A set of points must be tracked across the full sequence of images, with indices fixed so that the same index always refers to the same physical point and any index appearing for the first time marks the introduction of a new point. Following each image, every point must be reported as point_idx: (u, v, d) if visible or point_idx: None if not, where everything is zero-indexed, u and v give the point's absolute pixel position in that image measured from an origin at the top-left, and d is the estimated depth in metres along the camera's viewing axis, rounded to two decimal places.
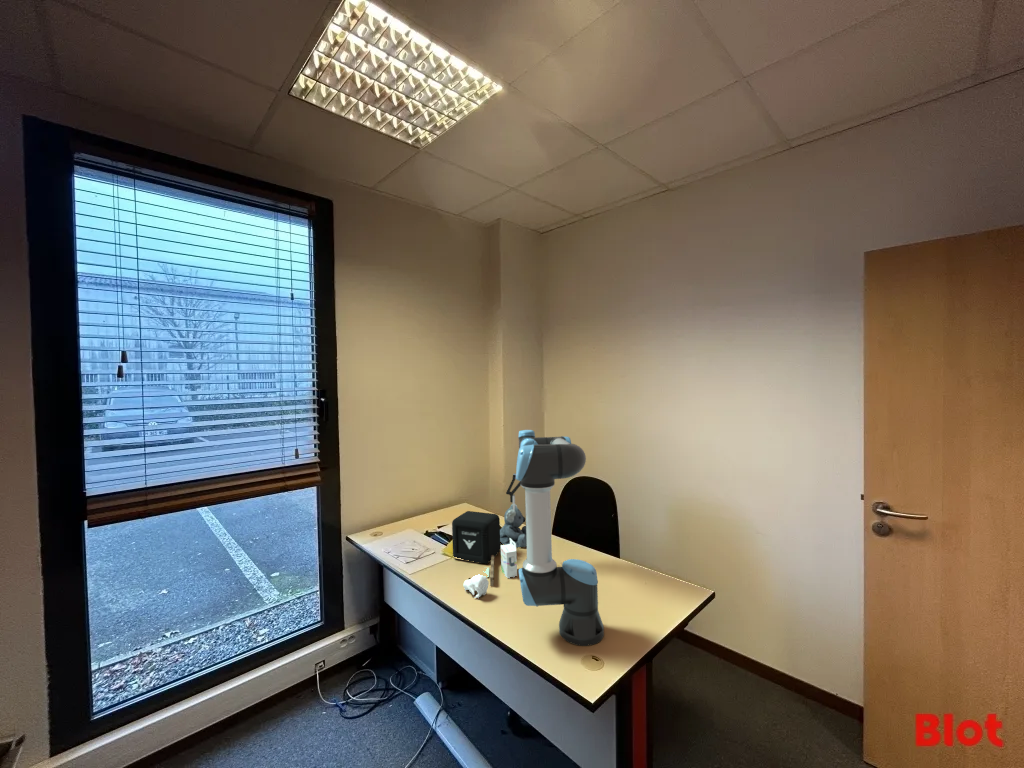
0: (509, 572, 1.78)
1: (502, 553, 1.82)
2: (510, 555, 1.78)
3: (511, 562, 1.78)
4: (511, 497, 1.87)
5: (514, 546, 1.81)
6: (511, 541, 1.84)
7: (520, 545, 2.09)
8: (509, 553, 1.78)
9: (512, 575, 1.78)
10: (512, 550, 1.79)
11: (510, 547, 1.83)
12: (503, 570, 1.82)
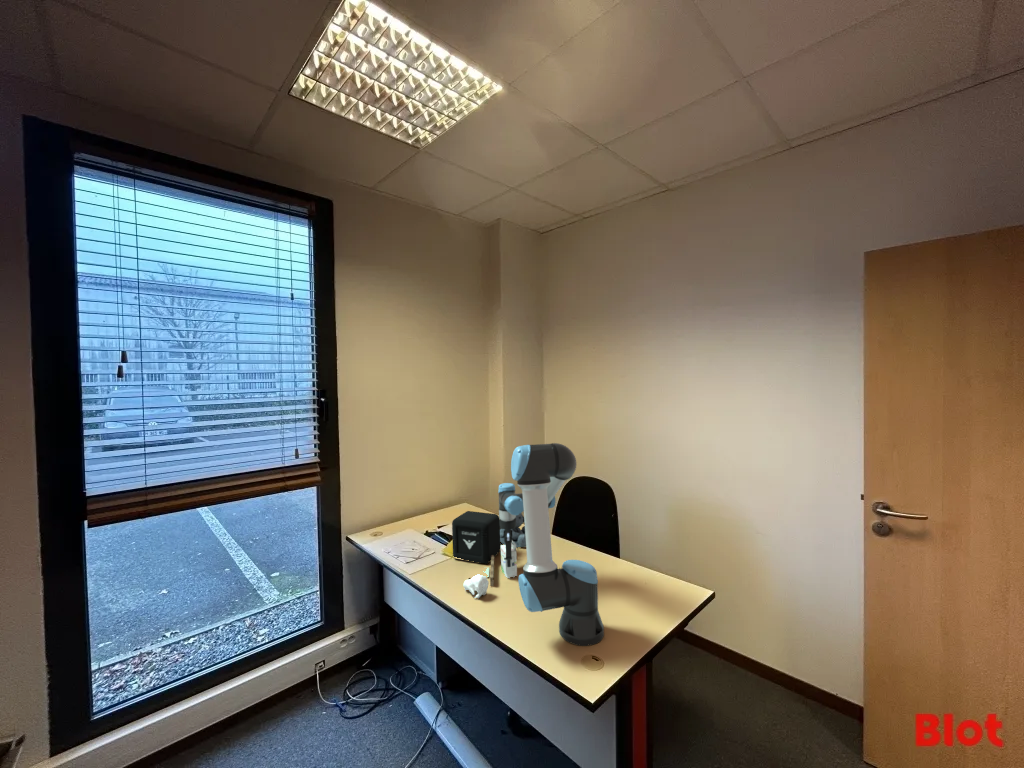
0: None
1: (502, 553, 1.82)
2: None
3: None
4: None
5: (514, 546, 1.81)
6: None
7: (520, 545, 2.09)
8: None
9: (512, 575, 1.78)
10: (512, 550, 1.79)
11: None
12: (503, 570, 1.82)
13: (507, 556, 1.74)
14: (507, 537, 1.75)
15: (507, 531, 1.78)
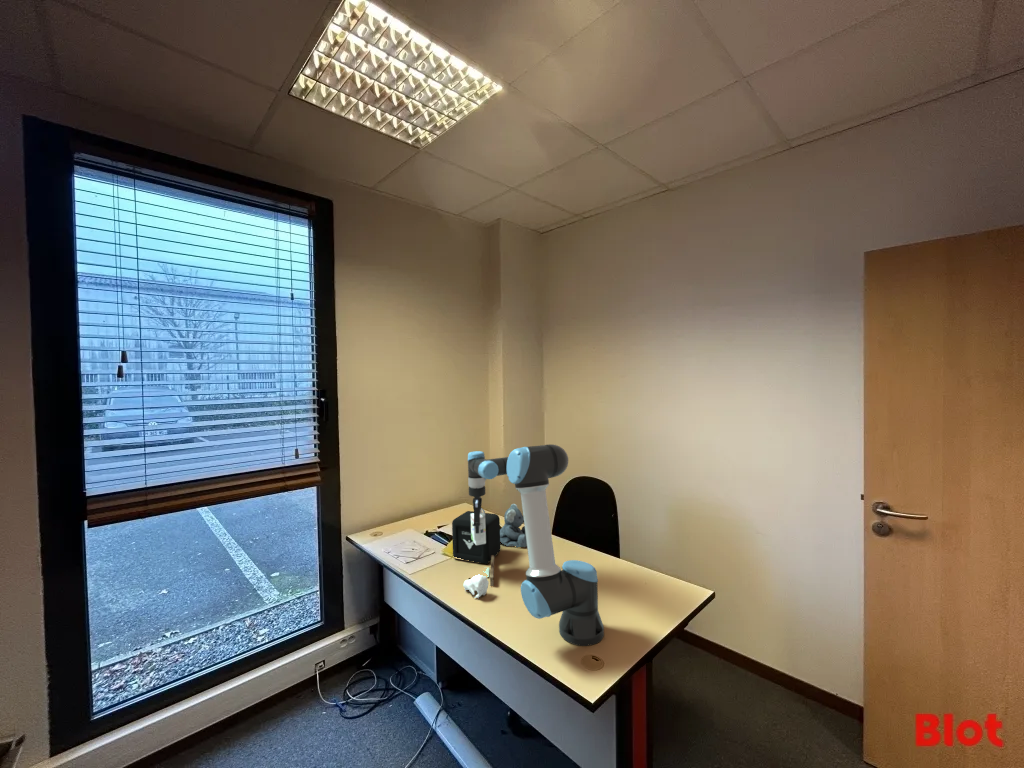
0: None
1: (471, 521, 1.83)
2: None
3: (480, 528, 1.79)
4: None
5: (483, 513, 1.81)
6: (481, 509, 1.85)
7: (520, 545, 2.09)
8: None
9: (481, 542, 1.79)
10: (481, 517, 1.80)
11: None
12: (472, 537, 1.83)
13: (475, 522, 1.75)
14: (475, 503, 1.76)
15: (476, 498, 1.79)
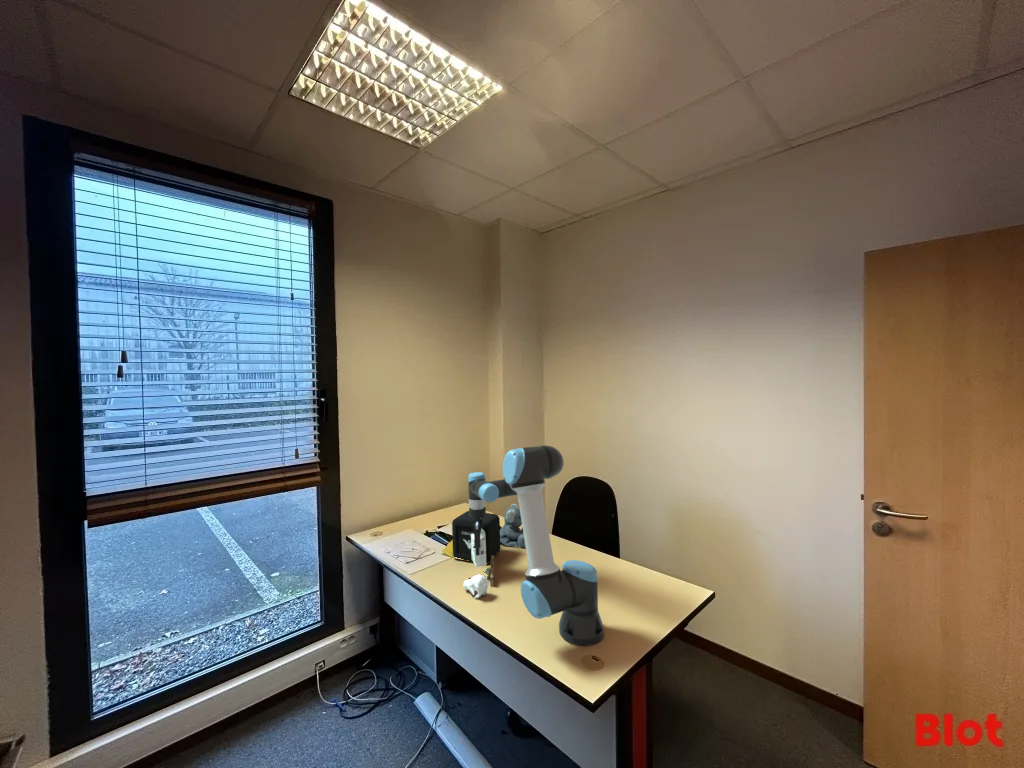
0: None
1: (472, 542, 1.83)
2: None
3: None
4: None
5: (484, 535, 1.82)
6: (481, 530, 1.85)
7: (520, 545, 2.09)
8: None
9: (481, 563, 1.79)
10: (481, 539, 1.80)
11: (480, 536, 1.83)
12: (473, 559, 1.83)
13: (475, 544, 1.75)
14: (476, 525, 1.76)
15: (476, 520, 1.79)
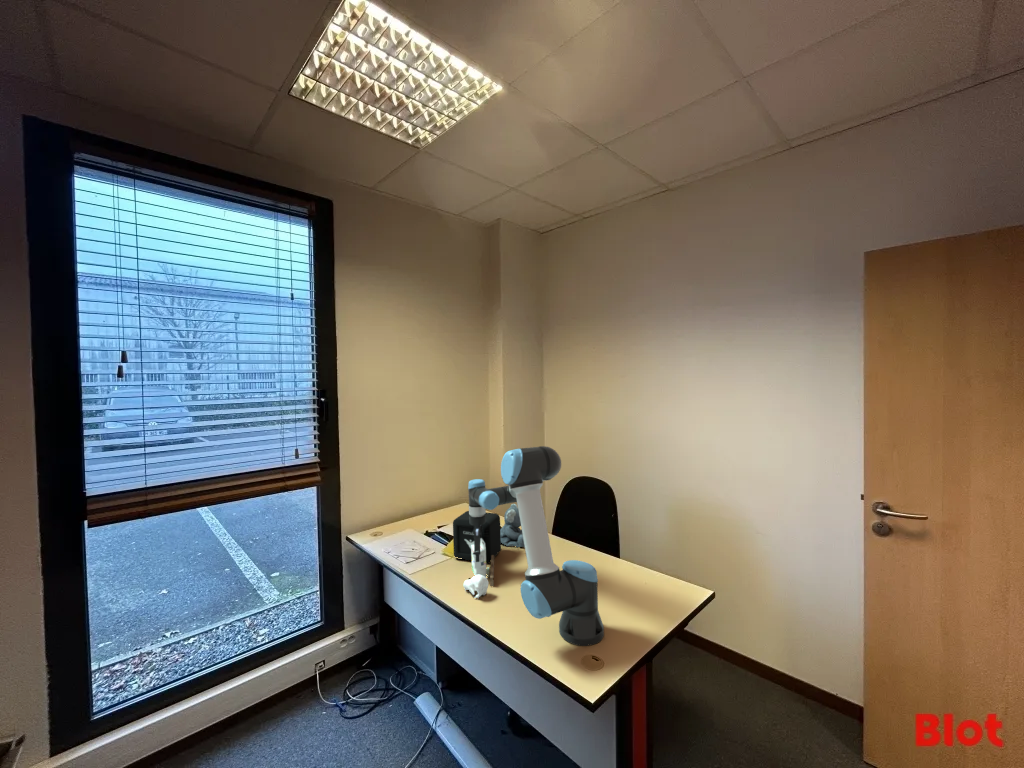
0: (478, 571, 1.78)
1: (472, 552, 1.82)
2: None
3: (481, 561, 1.78)
4: None
5: (484, 545, 1.81)
6: (481, 540, 1.84)
7: (520, 545, 2.09)
8: None
9: (481, 574, 1.78)
10: (481, 549, 1.79)
11: (480, 546, 1.83)
12: (473, 569, 1.82)
13: (475, 551, 1.73)
14: (476, 531, 1.76)
15: (476, 526, 1.79)
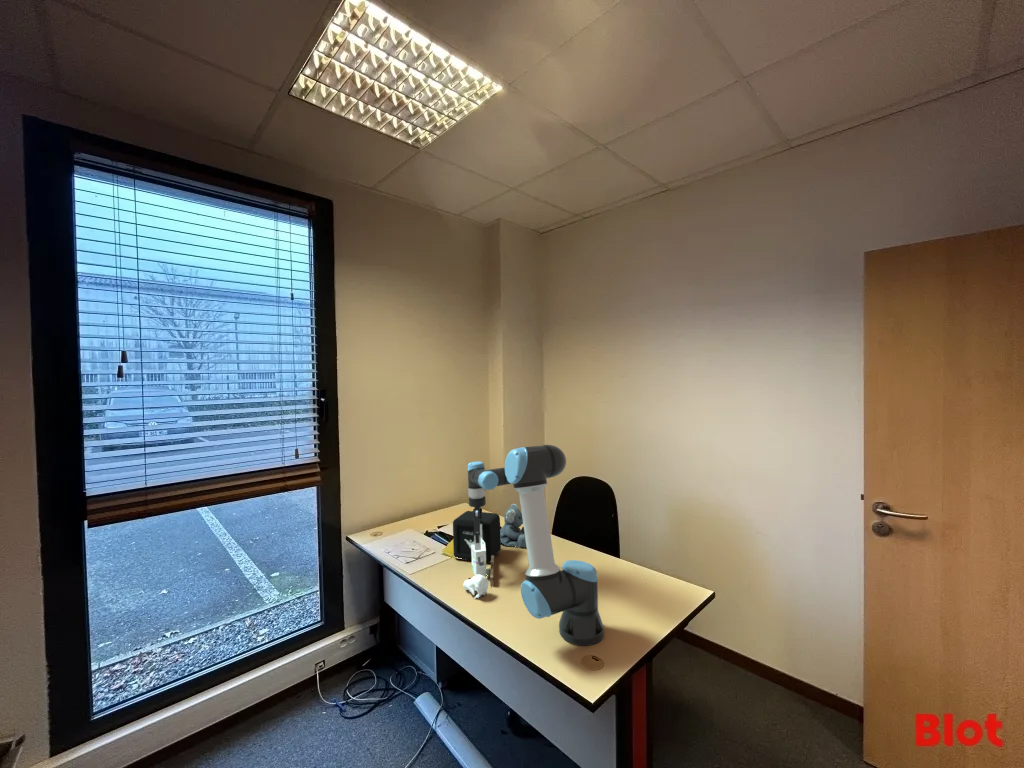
0: (478, 571, 1.78)
1: (472, 552, 1.82)
2: (479, 554, 1.78)
3: (481, 561, 1.78)
4: None
5: (484, 545, 1.81)
6: (481, 540, 1.84)
7: (520, 545, 2.09)
8: (478, 552, 1.78)
9: (481, 574, 1.78)
10: (481, 549, 1.79)
11: None
12: (473, 569, 1.82)
13: (475, 531, 1.73)
14: (475, 512, 1.76)
15: (476, 508, 1.79)
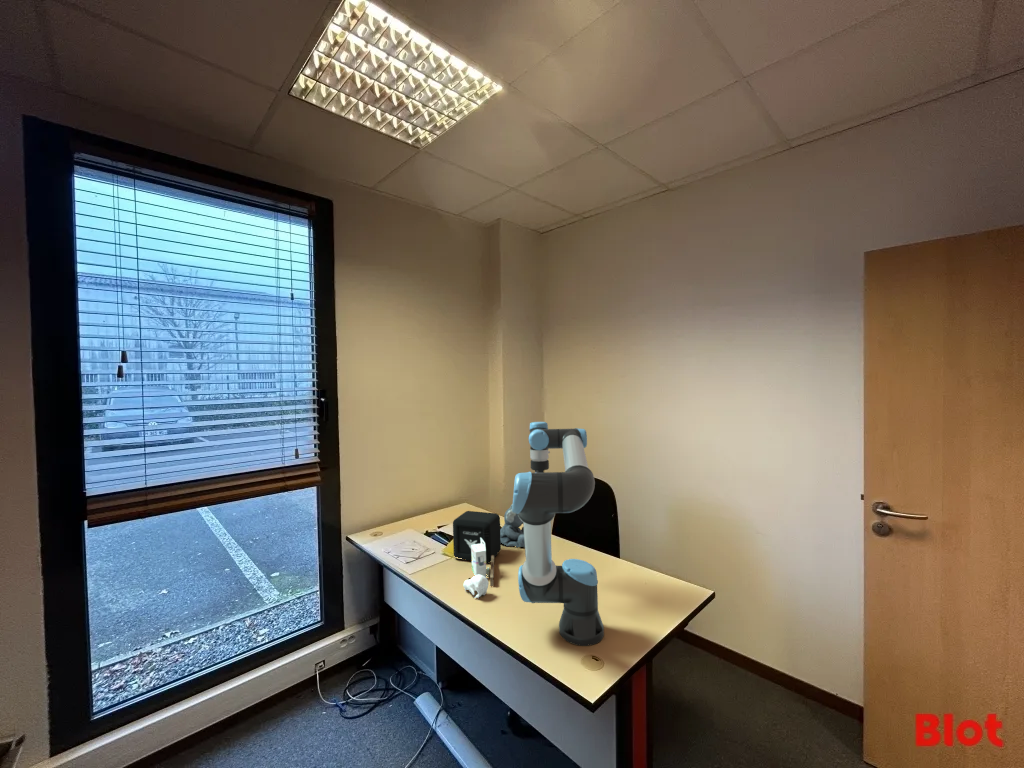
0: (478, 571, 1.78)
1: (472, 552, 1.82)
2: (479, 554, 1.78)
3: (481, 561, 1.78)
4: None
5: (484, 545, 1.81)
6: (481, 540, 1.84)
7: (520, 545, 2.09)
8: (478, 552, 1.78)
9: (481, 574, 1.78)
10: (481, 549, 1.79)
11: (480, 546, 1.83)
12: (473, 569, 1.82)
13: None
14: None
15: (540, 471, 1.63)
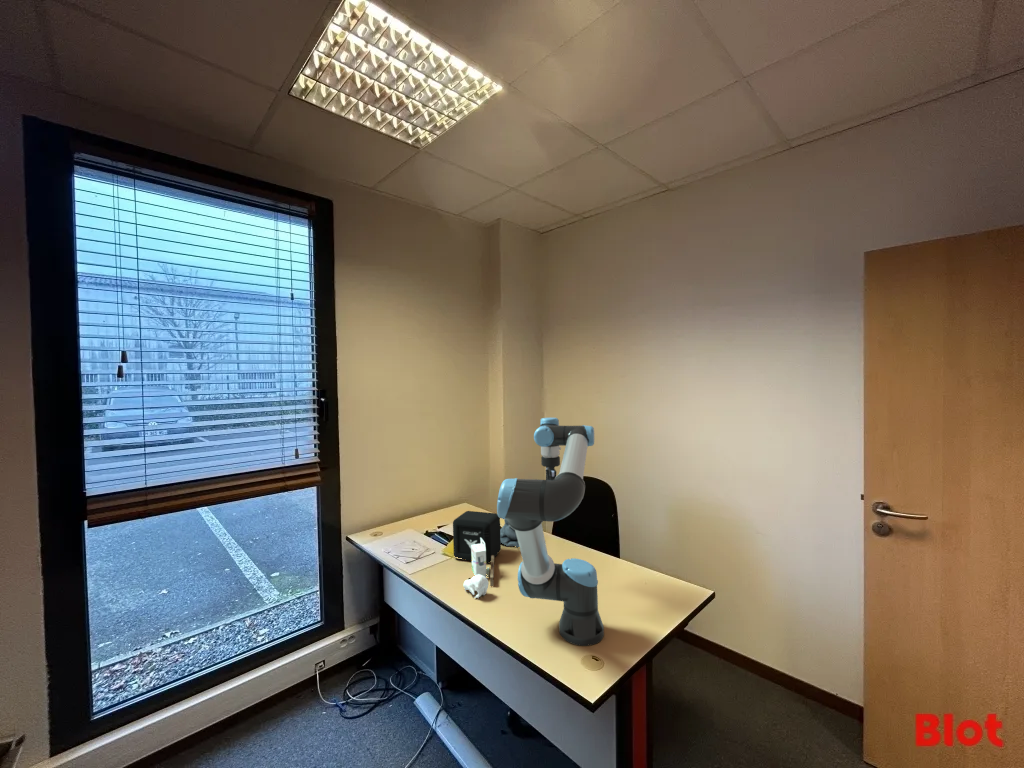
0: (478, 571, 1.78)
1: (472, 552, 1.82)
2: (479, 554, 1.78)
3: (481, 561, 1.78)
4: None
5: (484, 545, 1.81)
6: (481, 540, 1.84)
7: None
8: (478, 552, 1.78)
9: (481, 574, 1.78)
10: (481, 549, 1.79)
11: (480, 546, 1.83)
12: (473, 569, 1.82)
13: None
14: (552, 472, 1.58)
15: (551, 468, 1.61)
